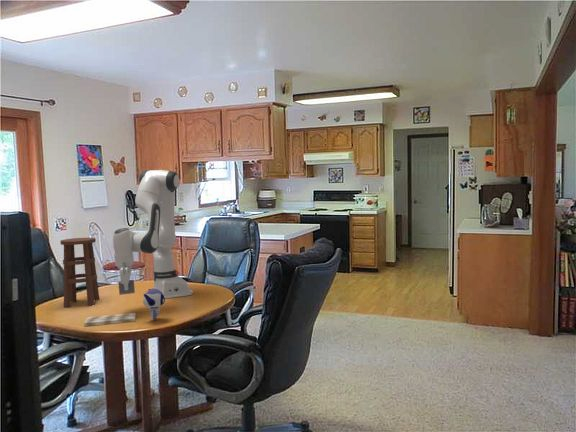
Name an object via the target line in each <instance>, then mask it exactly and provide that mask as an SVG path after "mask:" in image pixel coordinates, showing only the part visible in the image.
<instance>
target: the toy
mask: <svg viewBox="0 0 576 432" xmlns="http://www.w3.org/2000/svg"><path fill="white" fill-rule="evenodd" d="M142 298H143V299H142V303H143V305H144V306H145V307H147V308H148V313H149V315H150V316H151V318H152V320H153V321H156V320H157V319H158V318H157V317H158V316H159V315H160V313H161V306H163V305H164V303H165V302H166V299H165V297H164V295H163V293H162V292H161V291H160V290H158V289H154V288H148V290H147V291H146V292H145V293H143V297H142Z"/></svg>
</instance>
